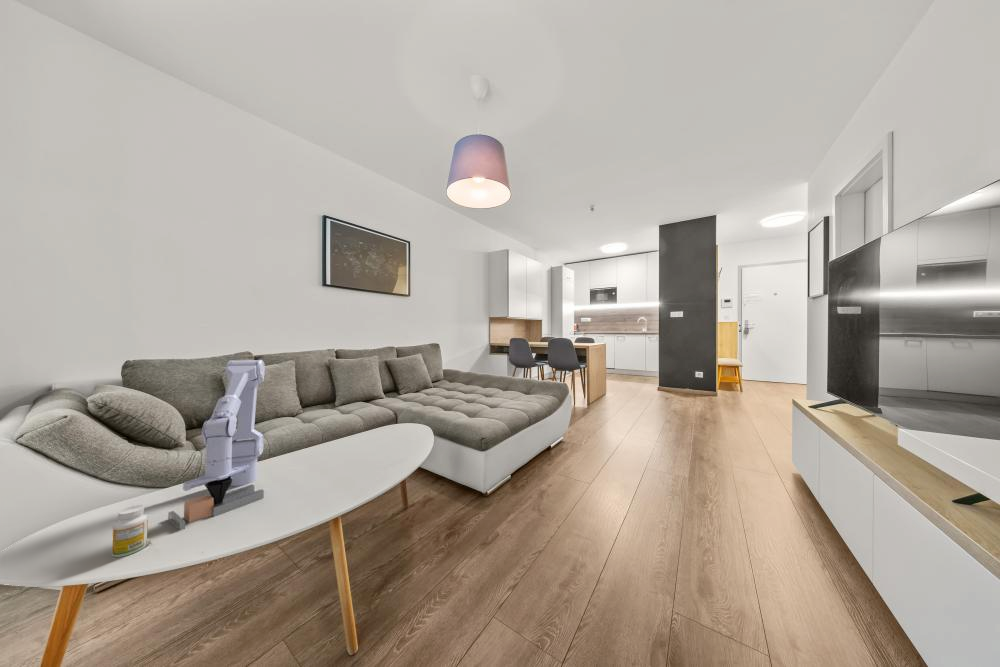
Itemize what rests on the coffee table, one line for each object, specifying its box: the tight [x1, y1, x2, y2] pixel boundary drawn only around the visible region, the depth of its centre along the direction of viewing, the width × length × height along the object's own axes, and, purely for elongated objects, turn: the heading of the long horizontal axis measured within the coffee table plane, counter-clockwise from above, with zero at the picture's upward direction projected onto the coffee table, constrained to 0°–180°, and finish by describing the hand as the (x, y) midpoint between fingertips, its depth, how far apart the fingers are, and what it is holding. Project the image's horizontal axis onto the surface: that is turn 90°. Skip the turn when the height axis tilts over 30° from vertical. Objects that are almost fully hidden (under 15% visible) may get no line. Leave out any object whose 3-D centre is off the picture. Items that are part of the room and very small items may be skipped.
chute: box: [167, 484, 265, 532], centre depth 92 cm, size 10×22×4 cm, turn 149°
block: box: [183, 493, 214, 523], centre depth 87 cm, size 4×5×4 cm
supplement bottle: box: [111, 504, 149, 558], centre depth 74 cm, size 5×5×10 cm
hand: (217, 505), depth 90 cm, fingers closed
